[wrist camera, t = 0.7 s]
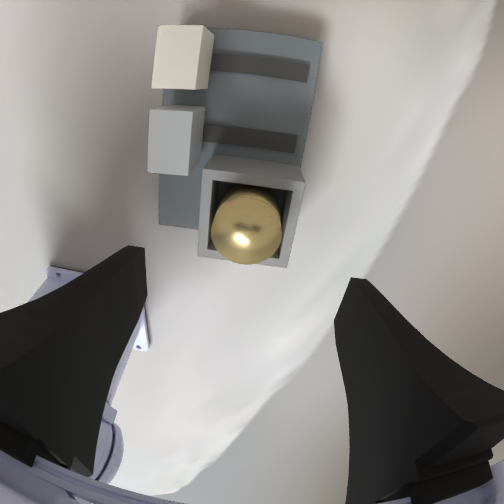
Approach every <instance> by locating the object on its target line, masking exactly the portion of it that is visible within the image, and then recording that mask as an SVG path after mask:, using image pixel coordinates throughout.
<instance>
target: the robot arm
mask: <svg viewBox="0 0 504 504" xmlns="http://www.w3.org/2000/svg"><path fill="white" fill-rule="evenodd" d="M46 273H47V277H48V278H47V279H46V280H45V282H44V283H43V284H42V285H41V287H40V288H39V289H38V290H37V291H36V293H35V294H34V295H33V296H32V298H31V299H30V300H29V301H28V303H25V304H23V305H20V306H18V307H16V308H13V309H10V310H8V311H5V312H2V313H0V504H92V503H93V504H185V503H179V502H175V501H169V500H164V499H160V498H155V497H151V496H147V495H143V494H139V493H136V492H132V491H128V490H125V489H121V488H118V487H115V486H112V485H109V483H110V482H111V481H112V479H113V478H114V476H115V475H116V473H117V471H118V469H119V466H120V463H121V460H122V456H123V450H124V443H123V438H122V432H121V429H120V427H119V426H118V425H117V424H115V423H114V420H115V417H116V414H117V410H115V409H114V408H112V407H111V403H112V400H113V398H114V395H115V392H116V390H117V387H118V384H119V382H120V379H121V376H122V374H123V371H124V369H125V366H126V364H127V361H128V359H129V356H130V354H131V351H132V349H136V350H140V351H148V350H149V347H150V346H149V339H148V333H147V325H146V318H145V310H144V303H145V300H146V297H147V283H146V268H145V248H142V247H135V246H129V245H128V246H127V247H125V248H123V249H121V250H120V251H118V252H116V253H115V254H113V255H112V256H110V257H108V258H107V259H105V260H104V261H102V262H101V263H99V264H98V265H96V266H94V267H93V268H91V269H90V270H88V271H87V272H85V273H81V272H76V271H71V270H66V269H61V268H56V267H51V266H49V267H48V268H47V269H46ZM59 273H60V274H59ZM334 327H335V339H336V347H337V352H338V357H339V362H340V366H341V371H342V376H343V381H344V385H345V391H346V396H347V403H348V413H349V436H350V455H349V477H348V487H347V496H346V503H345V504H504V460H502V461H500V462H498V463H496V464H494V465H493V466H491V467H490V465H489V462H488V460H490V459H492V458H493V453H492V450H491V448H492V447H494V446H495V445H496V444H497V443H499V442H500V441H501V440H502V439H504V391H503V390H501V389H499V388H497V387H495V386H493V385H491V384H489V383H487V382H486V381H484V380H482V379H480V378H479V377H477V376H475V375H474V374H472V373H470V372H469V371H467V370H466V369H464V368H463V367H462V366H460V365H459V364H457V363H456V362H454V361H453V360H452V359H450V358H449V357H448V356H446V355H445V354H444V353H442V352H441V351H440V350H439V349H438V348H437V347H435V346H434V345H433V344H432V343H431V342H429V341H428V340H427V339H426V338H425V337H424V336H423V335H422V334H421V333H420V332H419V331H418V330H417V329H415V328H414V327H413V326H412V325H411V324H410V323H409V322H408V321H407V320H406V319H405V318H404V317H403V316H402V315H401V314H400V313H399V311H397V310H396V308H395V307H394V306H393V305H392V304H391V303H390V302H389V301H388V300H387V299H386V298H385V297H384V296H383V295H382V294H381V293H380V292H379V291H378V290H377V289H376V288H375V287H374V286H373V285H372V284H371V283H370V282H369V281H368V280H367V279H360V278H352V277H351V279H350V281H349V284H348V287H347V289H346V292H345V294H344V297H343V299H342V302H341V304H340V307H339V309H338V312H337V314H336V317H335V319H334Z"/></svg>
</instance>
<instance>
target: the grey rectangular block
mask: <svg viewBox="0 0 504 504" xmlns="http://www.w3.org/2000/svg"><path fill="white" fill-rule="evenodd" d="M205 108H206V107H204V106H189V105H165V106H162V107H158V108H154V109H151V110H150V113H149V131H148V162H147V172H149V173H161V174H172V175H183V176H188V175H189V174H190V173H191V172H192V170H193V169H194V168H195V166H196V165H197V164H198V163H199V161H200V160H201V149H202V138H203V127H204V117H205Z"/></svg>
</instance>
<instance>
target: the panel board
mask: <svg viewBox="0 0 504 504" xmlns="http://www.w3.org/2000/svg"><path fill="white" fill-rule="evenodd" d="M207 29H208V30H209V31H210V32H211V33H213V34H214V35H215V36H214V43H213V50H212V57H211V65H210V73H209V81H208V89H198V90H191V89H164V93H163V106H165V105H189V106H204V107H206V108H205V117H204V127H203V138H202V149H201V160H200V161H199V163H198V164H197V165H196V166H195V168H194V169H193V170H192V172H191V173H190V174H189V175H188V176H183V175H172V174H161V173H159V224H160V225H168V226H176V227H184V228H192V229H199V234H198V255H197V256H200V257H207V258H215V259H222V260H228V259H226V258H225V257H224V256H222V255H221V254H220V253H219V252H218V251H217V249H216V248H215V246H214V244H213V241H212V238H211V227H212V223H213V220H214V217H215V215H216V212H217V209H218V206H219V203H220V201H221V198H222V196H223V194H224V193H225V191H226V190H227V189H228V188H229V187H230V186H232V185H233V184H235V183H241V184H248V185H256V186H263V187H269V188H270V189H271V190H272V191H273V192H274V193H275V195H276V197H277V199H278V202H279V209H280V220H281V230H282V237H281V242H280V245H279V247H278V249H277V250H276V252H275V253H274V254H273V255H272V256H271V257H269V258H268V259H266V260H264V261H262V262H260V263H256V264H260V265H267V266H275V267H283V268H287V265H288V261H289V257H290V252H291V248H292V243H293V239H294V234H295V230H296V225H297V221H298V216H299V211H300V207H301V202H302V197H303V192H304V188H305V180H304V178H303V175H302V172H301V170H300V168H301V163H302V158H303V152H304V147H305V142H306V136H307V131H308V125H309V120H310V114H311V108H312V103H313V97H314V91H315V85H316V79H317V73H318V67H319V61H320V54H321V48H322V42H319V41H314V40H309V39H304V38H298V37H293V36H287V35H280V34H274V33H266V32H258V31H249V30H238V29H224V28H207Z"/></svg>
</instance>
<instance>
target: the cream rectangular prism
mask: <svg viewBox="0 0 504 504" xmlns="http://www.w3.org/2000/svg"><path fill="white" fill-rule="evenodd" d="M214 36H215V35H214V34H213V33H211V32H210V31H209V30H208V29H207V28H206V27H205V26H204V25H163V26H158V32H157V40H156V47H155V56H154V65H153V75H152V86H151V88H161V89H191V90H198V89H208V81H209V73H210V65H211V57H212V50H213V43H214Z"/></svg>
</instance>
